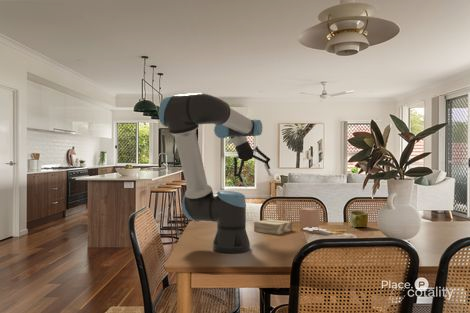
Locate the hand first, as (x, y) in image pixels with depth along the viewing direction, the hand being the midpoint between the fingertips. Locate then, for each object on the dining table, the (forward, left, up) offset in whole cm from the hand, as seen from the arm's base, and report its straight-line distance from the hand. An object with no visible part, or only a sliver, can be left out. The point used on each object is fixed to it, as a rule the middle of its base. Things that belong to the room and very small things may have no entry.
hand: (258, 181), depth 180 cm
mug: (+32, -46, -26) cm, 62 cm away
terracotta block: (+15, -23, -26) cm, 38 cm away
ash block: (+6, -6, -26) cm, 27 cm away
